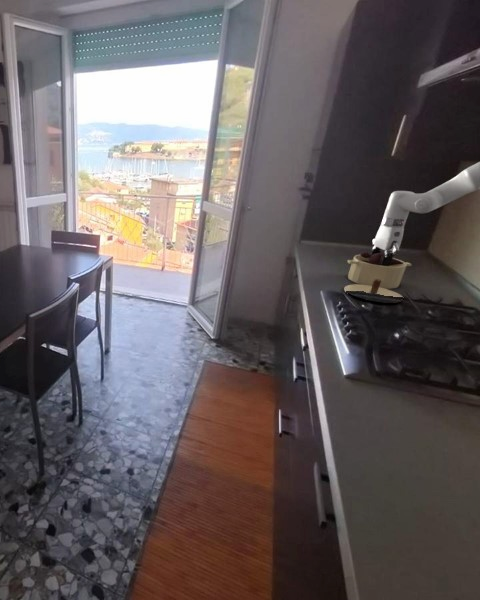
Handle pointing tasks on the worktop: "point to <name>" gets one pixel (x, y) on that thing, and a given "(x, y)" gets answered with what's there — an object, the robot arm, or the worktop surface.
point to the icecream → (378, 259)
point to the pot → (376, 272)
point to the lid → (372, 289)
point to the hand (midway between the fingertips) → (379, 262)
